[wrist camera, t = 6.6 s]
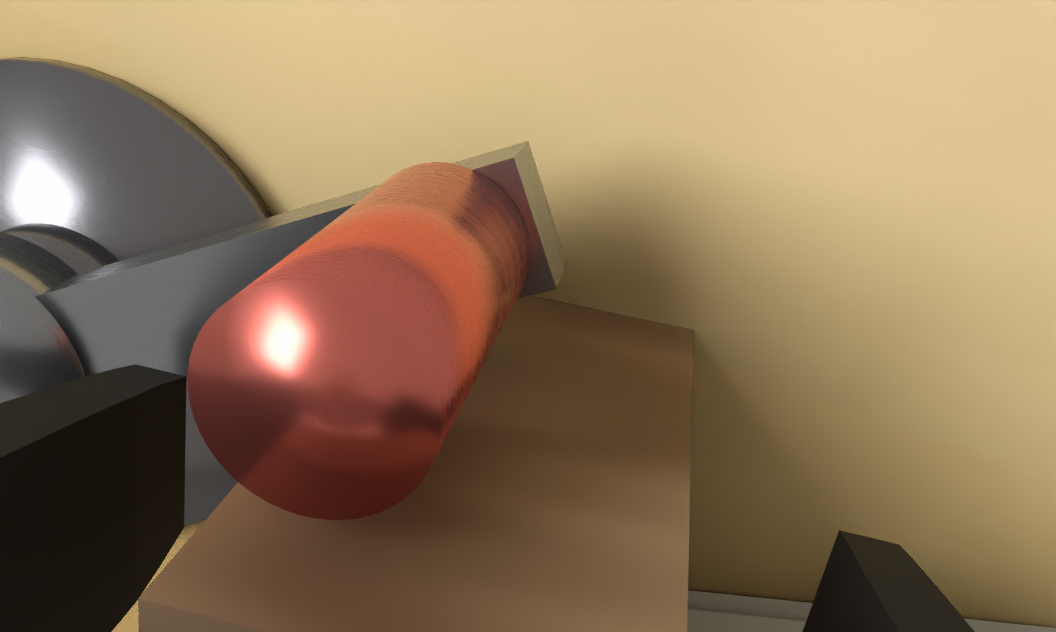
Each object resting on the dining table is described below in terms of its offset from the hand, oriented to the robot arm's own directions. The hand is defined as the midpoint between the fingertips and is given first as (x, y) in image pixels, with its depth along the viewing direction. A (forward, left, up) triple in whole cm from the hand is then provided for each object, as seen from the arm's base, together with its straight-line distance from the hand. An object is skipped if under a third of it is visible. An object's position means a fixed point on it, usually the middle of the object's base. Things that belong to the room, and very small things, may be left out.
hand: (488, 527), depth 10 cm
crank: (+2, +4, -1) cm, 4 cm away
